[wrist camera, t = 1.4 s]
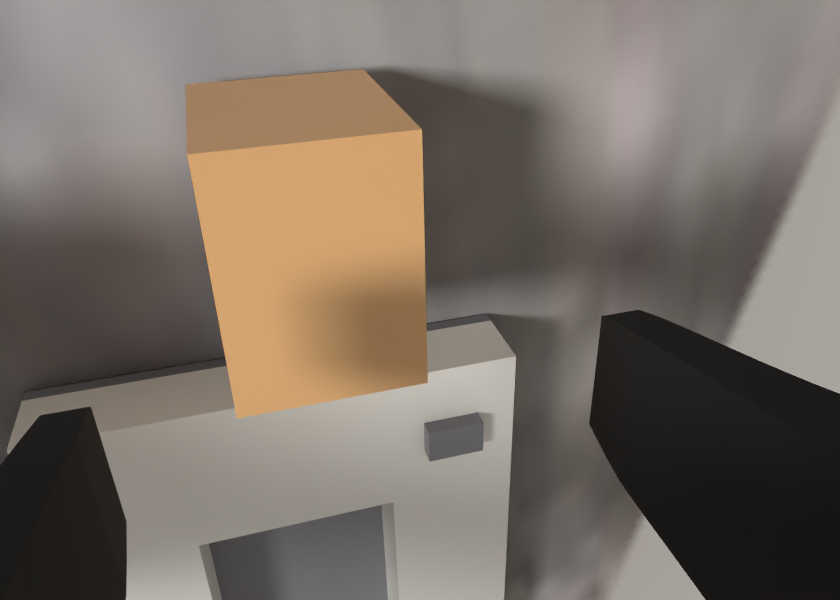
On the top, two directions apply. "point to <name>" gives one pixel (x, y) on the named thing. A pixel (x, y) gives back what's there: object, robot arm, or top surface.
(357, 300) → the plug
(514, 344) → the top surface
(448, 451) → the white cutout panel
